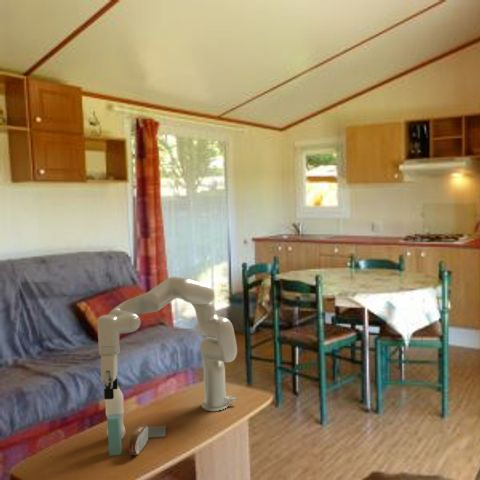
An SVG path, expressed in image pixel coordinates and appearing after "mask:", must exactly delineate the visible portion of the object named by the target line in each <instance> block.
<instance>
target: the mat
mask: <svg viewBox="0 0 480 480" xmlns="http://www.w3.org/2000/svg"><path fill="white" fill-rule="evenodd" d="M166 435H167V425H161V426H159V425H158V426H149V438H148V440H149V439H161V438H163V439H164V438H166Z"/></svg>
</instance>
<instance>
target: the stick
mask: <svg viewBox="0 0 480 480" xmlns="http://www.w3.org/2000/svg"><path fill="white" fill-rule="evenodd" d="M106 422H107V428H108V436H107V438H108V439H107V441H108V453H109V456H120V455H121V453H122V450H123V449H122V445H123V444H122V440H121V428H120V414H113V415H109V416H108V419H106Z"/></svg>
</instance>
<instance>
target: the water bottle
mask: <svg viewBox="0 0 480 480" xmlns="http://www.w3.org/2000/svg"><path fill="white" fill-rule="evenodd" d="M116 379H117V380H118V377H117V378H116ZM117 384H119V382H118V381H117ZM113 392H114V398H113V399H105V398H104V403H105V416H106V418H107V419H108V416H109V415H113V414H120V428H121V441H122V440H123V438H125V435H126V428H125V423H124V416H125V406H124V394H123V392H122V390H121V389H120V387H119V386H118V388H117V389H113ZM107 419H106V420H107ZM106 428H107V429H106V436H107V437H108V427H106Z"/></svg>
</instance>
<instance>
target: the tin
mask: <svg viewBox="0 0 480 480" xmlns="http://www.w3.org/2000/svg"><path fill="white" fill-rule="evenodd" d="M149 427H150V426H149V425H148V424H147V423H140V424H139V425H138V426H137V427H136V429H134V431H133V432H132V433H131V436H130V438H129V441H128V453H129V455H130V456H138V455H140V453H141V452H142V450H144V448H145V447H146V446H147V444H148V441H149V439H150V438H149ZM148 438H149V439H148Z"/></svg>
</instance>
